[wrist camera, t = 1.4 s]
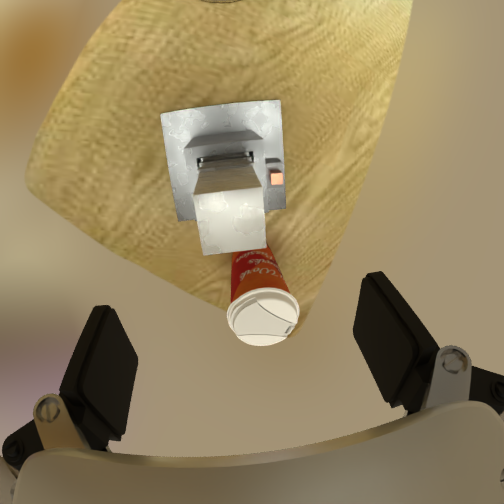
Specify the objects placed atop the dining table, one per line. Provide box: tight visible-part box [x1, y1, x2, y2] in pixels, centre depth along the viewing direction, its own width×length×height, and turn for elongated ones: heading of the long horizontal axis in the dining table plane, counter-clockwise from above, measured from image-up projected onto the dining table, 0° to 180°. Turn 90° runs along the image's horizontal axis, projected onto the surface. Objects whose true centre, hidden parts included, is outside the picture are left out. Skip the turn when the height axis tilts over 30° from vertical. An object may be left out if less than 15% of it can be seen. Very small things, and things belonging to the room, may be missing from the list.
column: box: [193, 152, 267, 256], centre depth 25 cm, size 4×4×18 cm
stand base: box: [160, 100, 286, 222], centre depth 29 cm, size 14×14×11 cm
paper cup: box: [227, 244, 299, 346], centre depth 35 cm, size 8×8×14 cm
